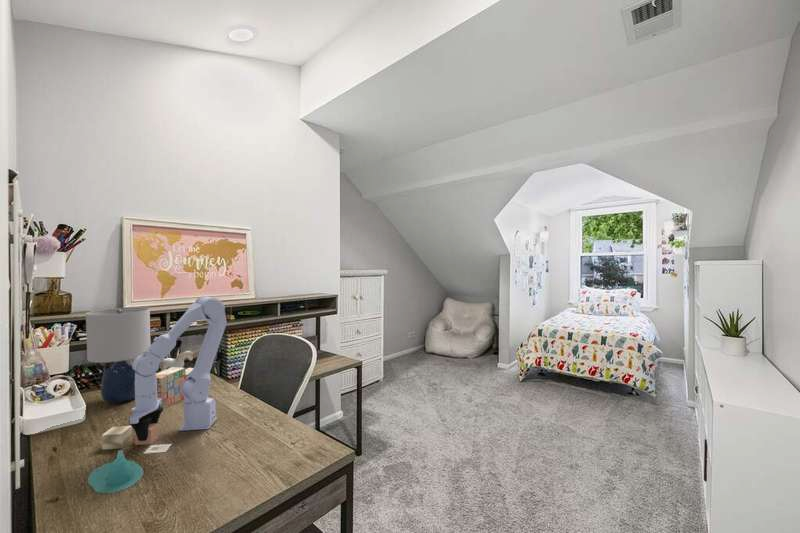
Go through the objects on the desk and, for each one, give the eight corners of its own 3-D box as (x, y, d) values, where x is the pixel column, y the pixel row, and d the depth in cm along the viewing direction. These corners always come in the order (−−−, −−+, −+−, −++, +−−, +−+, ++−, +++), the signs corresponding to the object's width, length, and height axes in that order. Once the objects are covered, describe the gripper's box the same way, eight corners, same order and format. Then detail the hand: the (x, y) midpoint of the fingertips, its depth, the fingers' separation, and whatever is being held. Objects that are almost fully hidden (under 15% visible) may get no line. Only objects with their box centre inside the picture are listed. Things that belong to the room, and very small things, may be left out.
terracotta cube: (158, 436, 119) (158, 423, 119) (151, 444, 115) (151, 429, 114) (143, 437, 118) (143, 424, 118) (135, 445, 114) (135, 430, 114)
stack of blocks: (189, 388, 163) (189, 360, 162) (202, 389, 161) (201, 361, 161) (147, 408, 142) (146, 376, 141) (161, 409, 140) (160, 377, 140)
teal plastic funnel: (131, 454, 109) (131, 425, 109) (155, 480, 97) (154, 447, 96) (78, 472, 100) (77, 441, 100) (96, 504, 87) (95, 468, 87)
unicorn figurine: (194, 381, 172) (193, 352, 171) (151, 381, 171) (150, 352, 171) (201, 375, 179) (201, 348, 178) (161, 376, 178) (160, 348, 178)
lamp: (152, 402, 147) (149, 310, 145) (85, 415, 135) (82, 315, 134) (151, 387, 163) (149, 304, 162) (92, 397, 152) (89, 308, 151)
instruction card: (172, 444, 114) (172, 443, 114) (165, 452, 110) (165, 451, 110) (151, 445, 113) (151, 445, 113) (143, 453, 109) (143, 452, 109)
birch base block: (132, 439, 118) (132, 425, 117) (122, 448, 112) (121, 433, 112) (113, 440, 117) (112, 426, 117) (102, 450, 111) (101, 435, 111)
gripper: (144, 386, 123) (146, 426, 123) (117, 403, 108) (119, 449, 109) (167, 384, 124) (168, 425, 124) (144, 402, 109) (145, 447, 110)
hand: (147, 436), depth 116 cm, fingers open, 5 cm apart
